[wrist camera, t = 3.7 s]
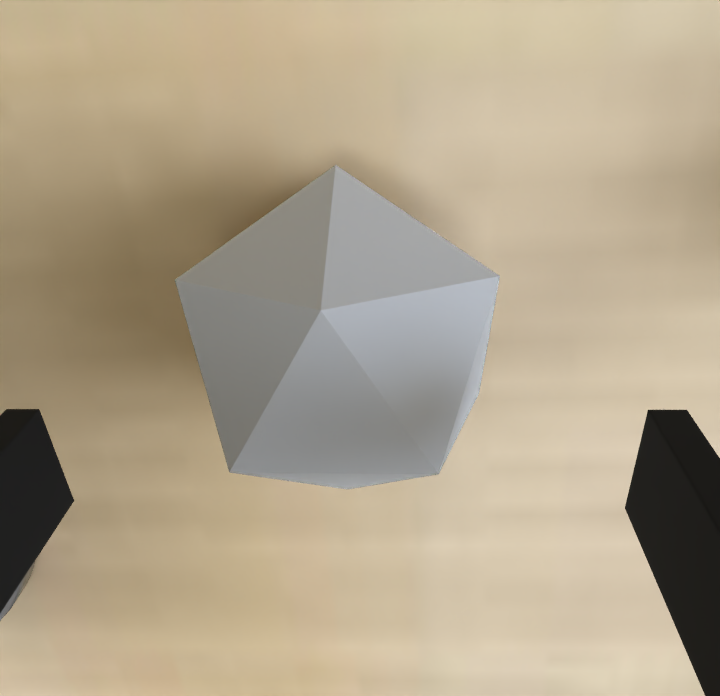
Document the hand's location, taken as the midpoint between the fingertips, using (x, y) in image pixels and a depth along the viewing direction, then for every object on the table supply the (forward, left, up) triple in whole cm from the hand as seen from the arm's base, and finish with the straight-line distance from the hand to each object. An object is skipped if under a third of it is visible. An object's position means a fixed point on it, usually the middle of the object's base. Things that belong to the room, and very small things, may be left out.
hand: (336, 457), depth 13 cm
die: (0, 0, -9) cm, 9 cm away
